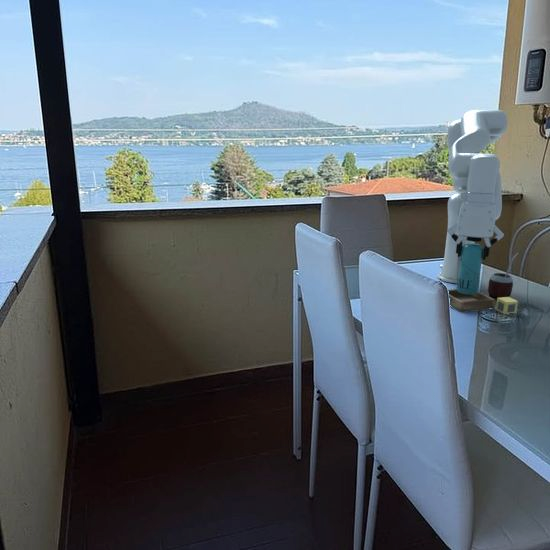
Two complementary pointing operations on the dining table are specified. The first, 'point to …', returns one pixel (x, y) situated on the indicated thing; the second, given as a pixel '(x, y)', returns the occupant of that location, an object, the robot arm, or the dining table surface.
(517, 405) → the dining table surface
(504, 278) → the mate gourd
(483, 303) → the tray
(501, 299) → the pale yellow cube
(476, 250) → the beverage bottle
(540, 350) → the dining table surface
